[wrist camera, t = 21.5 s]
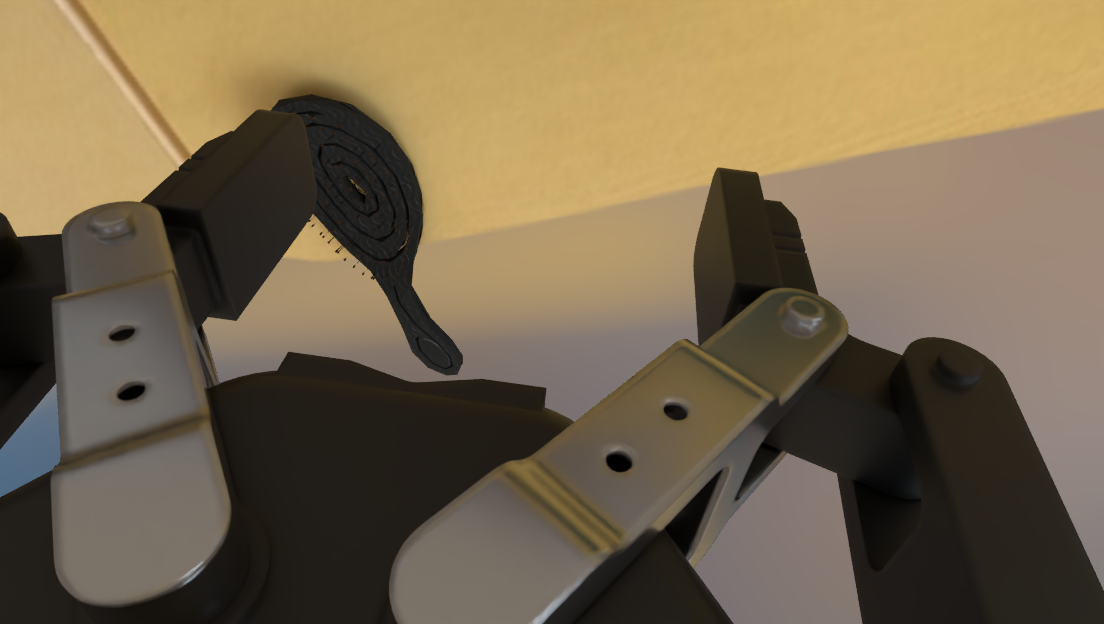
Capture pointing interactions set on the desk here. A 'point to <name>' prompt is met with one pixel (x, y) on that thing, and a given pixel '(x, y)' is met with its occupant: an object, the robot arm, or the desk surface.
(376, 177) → the hairbrush
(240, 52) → the desk surface
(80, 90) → the desk surface
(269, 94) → the desk surface
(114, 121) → the desk surface
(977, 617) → the robot arm
